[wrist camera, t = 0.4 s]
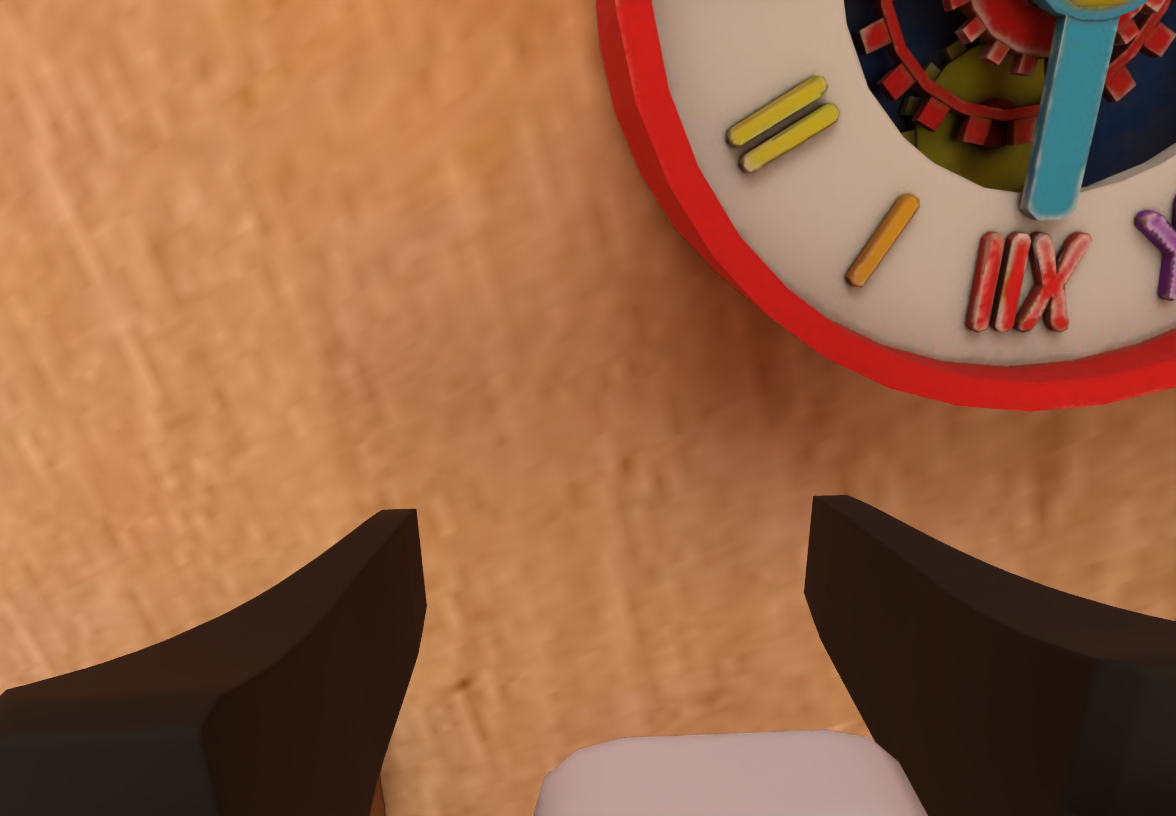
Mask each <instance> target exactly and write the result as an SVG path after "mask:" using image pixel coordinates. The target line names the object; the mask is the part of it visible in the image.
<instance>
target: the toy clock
mask: <svg viewBox="0 0 1176 816" xmlns="http://www.w3.org/2000/svg"><path fill="white" fill-rule="evenodd" d="M596 9H597V24H598V38H599V47H600V51H601V56H602V60H603V64H604V69H605V73H606V77H607V82H608V86H609V90H610V95H611V99H612V103H613V108H614V112H615V115H616V117H617V120H618V122H619V125H620V127H621V129H622V132H623V134H624V137H625V139H626V142H627V144H628V146H629V149H630V151H631V154H632V156H633V158H634V161H635V163H636V166H637V168H638V170H639V173H640V175H641V177H642V178H643V180H644V181H645V183H646V184H647V186H648V188H649V189H650V191H651V192H652V194H653V195H654V197H655V199H656V200H657V202H658V203H659V205H660V206H661V208H662V209H663V211H664V213H665V214H666V216H667V217H668V219H669V220H670V222H671V224H672V225H673V227H674V228H675V229H676V230H677V231H678V232H679V233H680V234H681V235H682V236H683V238H684V239H685V240H686V241H687V242H688V243H689V244H690V245H691V246H692V247H693V248H694V249H695V250H696V252H697V253H698V254H699V255H700V256H701V257H702V258H703V259H704V260H705V261H706V262H707V263H708V264H709V266H710V267H711V268H712V269H713V270H714V271H716V272H717V273H718V274H719V275H720V276H722V277H723V278H724V279H725V280H726V281H727V282H729V283H730V284H731V285H732V286H733V287H735V288H736V289H737V290H738V291H739V292H741V293H742V294H743V295H744V296H745V297H747V298H748V299H749V300H750V301H751V302H753V303H754V304H755V305H756V306H757V307H759V308H760V309H761V310H762V311H763V312H765V313H766V314H767V315H769V316H770V317H771V318H773V319H774V320H775V321H777V322H778V323H779V324H781V325H782V326H783V327H785V328H786V329H787V330H789V331H790V332H791V333H793V334H794V335H795V336H797V337H798V338H799V339H801V340H802V341H803V342H805V343H806V344H807V345H809V346H810V347H811V348H813V349H814V350H815V351H817V352H818V353H819V354H821V355H822V356H823V357H825V358H827V359H830V360H832V361H834V362H836V363H838V364H840V365H842V366H844V367H846V368H848V369H850V370H853V371H855V372H857V373H859V374H861V375H863V376H865V377H867V378H869V379H871V380H873V381H876V382H878V383H880V384H882V385H884V386H886V387H888V388H891V389H895V390H899V391H903V392H907V393H911V394H914V395H918V396H922V397H926V398H930V399H934V400H938V401H942V402H945V403H949V404H953V405H957V406H968V407H980V408H992V409H1005V410H1017V411H1029V412H1030V411H1041V410H1051V409H1062V408H1073V407H1083V406H1094V405H1104V404H1108V403H1112V402H1116V401H1120V400H1124V399H1128V398H1133V397H1137V396H1141V395H1145V394H1149V393H1153V392H1157V391H1161V390H1165V389H1169V388H1173V387H1176V0H596Z"/></svg>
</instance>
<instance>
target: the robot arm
mask: <svg viewBox="0 0 1176 816" xmlns="http://www.w3.org/2000/svg"><path fill="white" fill-rule="evenodd" d="M804 594H805V597H806V600H807V603H808V606H809V609H810V612H811V615H812V618H813V620H814V623H815V626H816V628H817V631H818V634H819V636H820V639H821V641H822V643H823V645H824V647H825V649H826V651H827V653H828V654H829V656H830V658H831V660H832V662H833V664H834V666H835V668H836V670H837V672H838V673H839V675H840V677H841V679H842V681H843V683H844V685H845V686H846V688H847V690H848V692H849V694H850V696H851V698H852V699H853V701H854V703H855V705H856V707H857V709H858V711H859V712H860V714H861V716H862V718H863V720H864V722H865V724H866V725H867V727H868V729H869V731H870V733H871V735H872V737H873V738H874V740H875V741H873V740H872V739H871V738H870V737H865V736H859V735H854V734H848V733H842V732H837V731H831V730H826V729H824V730H799V731H774V732H749V733H724V734H699V735H675V736H650V737H625V738H620V739H616V740H612V741H608V742H604V743H600V744H596V745H592V746H588V747H584V748H580V749H577V750H576V751H574V752H573V753H572V754H571V755H570V756H568V757H567V758H566V759H565V760H564V761H562V762H561V763H560V764H559V765H558V766H557V767H555V768H554V769H553V770H552V771H551V772H549V773H548V774H547V775H546V776H545V777H544V780H543V783H542V786H541V790H540V793H539V797H538V800H537V803H536V807H535V810H534V816H1176V621H1172V620H1167V619H1163V618H1158V617H1153V616H1149V615H1144V614H1141V613H1137V612H1133V611H1129V610H1125V609H1121V608H1117V607H1113V606H1109V605H1106V604H1102V603H1099V602H1096V601H1092V600H1089V599H1085V598H1082V597H1079V596H1075V595H1072V594H1068V593H1065V592H1062V591H1059V590H1056V589H1053V588H1050V587H1047V586H1044V585H1042V584H1039V583H1036V582H1034V581H1031V580H1028V579H1026V578H1023V577H1020V576H1018V575H1015V574H1012V573H1009V572H1007V571H1004V570H1002V569H1000V568H997V567H995V566H992V565H990V564H988V563H985V562H983V561H981V560H979V559H977V558H974V557H972V556H970V555H968V554H966V553H963V552H961V551H959V550H957V549H955V548H953V547H951V546H949V545H947V544H944V543H942V542H940V541H938V540H936V539H934V538H932V537H930V536H928V535H926V534H925V533H923V532H921V531H919V530H917V529H915V528H913V527H911V526H909V525H907V524H905V523H903V522H902V521H900V520H898V519H896V518H894V517H892V516H890V515H888V514H886V513H884V512H883V511H881V510H879V509H877V508H875V507H873V506H871V505H869V504H867V503H865V502H862V501H860V500H858V499H856V498H853V497H851V496H848V495H832V496H813V503H812V514H811V524H810V535H809V545H808V556H807V566H806V577H805V588H804ZM426 608H427V603H426V594H425V585H424V576H423V566H422V557H421V548H420V538H419V529H418V520H417V511H416V509H392V510H381V511H380V512H378V513H376V514H375V515H373V516H372V517H371V518H369V519H368V520H366V521H365V522H364V523H362V524H361V525H360V526H359V527H357V528H356V529H355V530H353V531H352V532H351V533H349V534H348V535H347V536H345V537H344V538H343V539H341V540H340V541H339V542H337V543H336V544H335V545H333V546H332V547H331V548H329V549H328V550H327V551H325V552H324V553H323V554H321V555H320V556H319V557H317V558H316V559H314V560H313V561H311V562H310V563H308V564H307V565H305V566H304V567H302V568H301V569H299V570H298V571H296V572H295V573H293V574H292V575H290V576H289V577H288V578H286V579H285V580H283V581H282V582H280V583H279V584H277V585H275V586H274V587H272V588H270V589H269V590H267V591H266V592H264V593H262V594H260V595H259V596H257V597H255V598H253V599H252V600H250V601H248V602H246V603H244V604H242V605H240V606H239V607H237V608H235V609H233V610H231V611H229V612H227V613H225V614H223V615H221V616H219V617H217V618H215V619H213V620H210V621H208V622H206V623H204V624H201V625H199V626H197V627H195V628H193V629H190V630H188V631H186V632H184V633H181V634H179V635H177V636H175V637H172V638H170V639H168V640H165V641H163V642H160V643H158V644H155V645H152V646H150V647H147V648H144V649H142V650H139V651H136V652H134V653H131V654H128V655H125V656H122V657H119V658H116V659H113V660H110V661H107V662H104V663H101V664H98V665H95V666H92V667H89V668H85V669H82V670H78V671H75V672H71V673H67V674H64V675H60V676H56V677H53V678H49V679H46V680H42V681H38V682H35V683H31V684H27V685H24V686H20V687H15V688H11V689H7V690H6V691H5V692H4V693H3V694H2V695H1V696H0V816H370V813H371V808H372V804H373V799H374V794H375V790H376V785H377V782H378V778H379V774H380V771H381V767H382V764H383V760H384V757H385V754H386V751H387V748H388V745H389V742H390V739H391V736H392V733H393V730H394V727H395V724H396V721H397V718H398V715H399V712H400V709H401V706H402V703H403V700H404V697H405V694H406V691H407V688H408V685H409V681H410V678H411V675H412V672H413V669H414V666H415V663H416V660H417V656H418V653H419V648H420V642H421V637H422V632H423V626H424V620H425V614H426Z"/></svg>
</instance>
